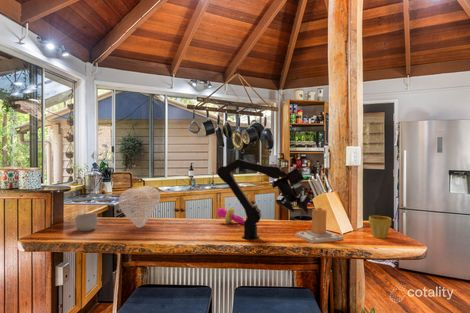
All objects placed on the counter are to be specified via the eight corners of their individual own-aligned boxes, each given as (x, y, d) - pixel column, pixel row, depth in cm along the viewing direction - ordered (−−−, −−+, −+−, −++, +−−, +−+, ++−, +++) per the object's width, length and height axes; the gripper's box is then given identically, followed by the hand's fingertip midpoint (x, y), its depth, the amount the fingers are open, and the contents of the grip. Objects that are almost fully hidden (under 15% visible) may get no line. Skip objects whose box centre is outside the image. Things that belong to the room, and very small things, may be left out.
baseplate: (311, 243, 145) (311, 237, 145) (295, 235, 158) (295, 230, 158) (343, 239, 152) (343, 234, 152) (324, 232, 165) (325, 227, 165)
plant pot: (389, 240, 151) (390, 220, 151) (366, 237, 157) (367, 217, 157) (392, 236, 160) (392, 217, 160) (370, 233, 165) (370, 214, 165)
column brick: (317, 236, 152) (318, 209, 152) (311, 234, 157) (312, 207, 156) (325, 235, 154) (326, 208, 154) (319, 233, 158) (320, 206, 158)
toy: (238, 228, 176) (245, 211, 179) (210, 216, 182) (218, 200, 185) (241, 231, 185) (248, 215, 188) (215, 220, 191) (222, 204, 194)
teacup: (96, 231, 162) (96, 216, 162) (73, 233, 158) (73, 217, 158) (97, 225, 175) (97, 211, 175) (76, 227, 171) (76, 212, 171)
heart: (140, 234, 156) (140, 190, 156) (112, 232, 160) (112, 189, 159) (164, 222, 184) (164, 185, 184) (139, 221, 187) (140, 184, 187)
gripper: (309, 178, 148) (323, 202, 153) (281, 178, 163) (295, 200, 168) (296, 194, 142) (311, 219, 147) (269, 192, 157) (283, 214, 163)
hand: (300, 212), depth 157 cm, fingers open, 9 cm apart
